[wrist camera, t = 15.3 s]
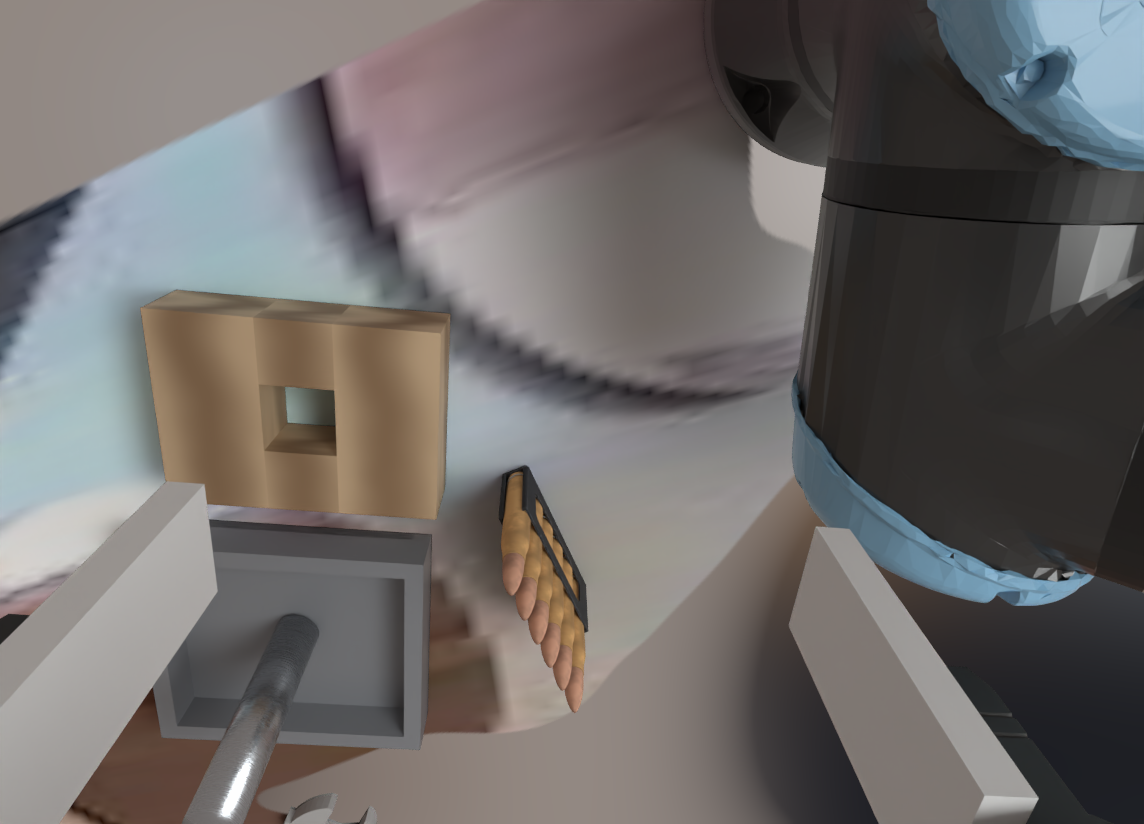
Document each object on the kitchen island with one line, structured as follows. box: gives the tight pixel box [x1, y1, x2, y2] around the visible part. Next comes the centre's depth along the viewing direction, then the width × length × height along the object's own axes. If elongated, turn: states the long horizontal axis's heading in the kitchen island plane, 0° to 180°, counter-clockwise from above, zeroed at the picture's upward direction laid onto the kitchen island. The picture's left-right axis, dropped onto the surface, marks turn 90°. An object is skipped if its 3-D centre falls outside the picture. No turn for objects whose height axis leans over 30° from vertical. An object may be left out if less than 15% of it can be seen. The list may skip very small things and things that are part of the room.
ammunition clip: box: [499, 466, 588, 713], centre depth 44 cm, size 11×2×12 cm, turn 22°
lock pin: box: [182, 615, 319, 824], centre depth 45 cm, size 3×3×14 cm
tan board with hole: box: [140, 290, 450, 520], centre depth 43 cm, size 16×12×4 cm
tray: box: [153, 520, 432, 750], centre depth 50 cm, size 18×16×4 cm
